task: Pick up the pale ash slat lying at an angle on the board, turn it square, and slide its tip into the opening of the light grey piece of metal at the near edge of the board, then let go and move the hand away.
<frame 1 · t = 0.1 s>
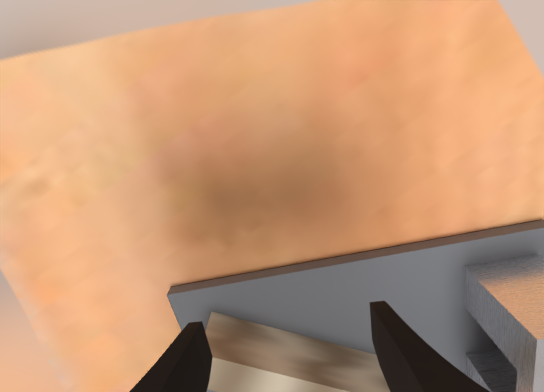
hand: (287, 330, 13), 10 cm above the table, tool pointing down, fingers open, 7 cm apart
board: (359, 336, 26), on the table
grey piece: (498, 325, 24), resting on board
slat: (313, 353, 25), point 1 cm above the table, touching board
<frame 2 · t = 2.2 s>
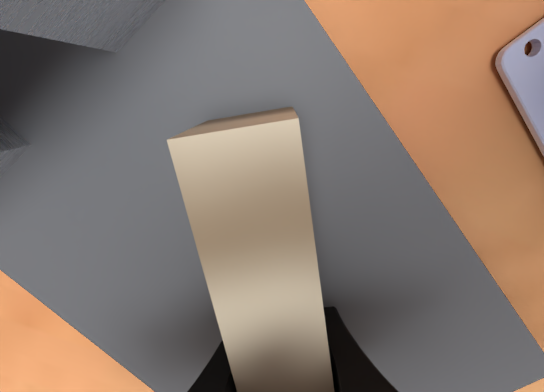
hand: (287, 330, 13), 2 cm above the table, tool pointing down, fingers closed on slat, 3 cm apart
board: (230, 246, 13), on the table
grey piece: (10, 38, 10), resting on board
slat: (287, 320, 13), point 1 cm above the table, touching board, gripper
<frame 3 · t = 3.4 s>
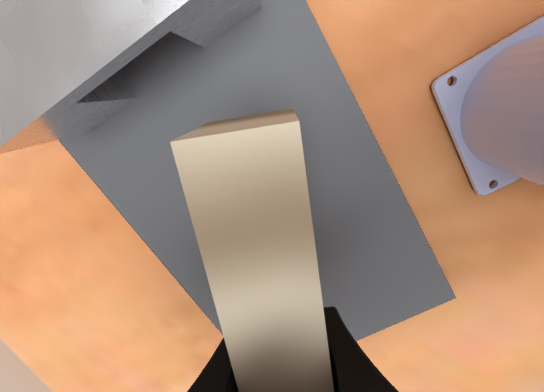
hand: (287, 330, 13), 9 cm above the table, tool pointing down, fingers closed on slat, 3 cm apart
board: (251, 186, 20), on the table
grey piece: (140, 30, 16), resting on board
slat: (287, 319, 14), point 8 cm above the table, touching gripper
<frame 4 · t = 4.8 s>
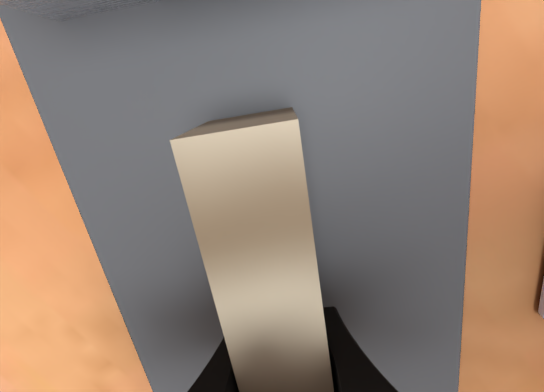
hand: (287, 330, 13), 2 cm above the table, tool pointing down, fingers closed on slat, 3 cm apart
board: (270, 201, 14), on the table
slat: (286, 317, 14), point 2 cm above the table, touching gripper
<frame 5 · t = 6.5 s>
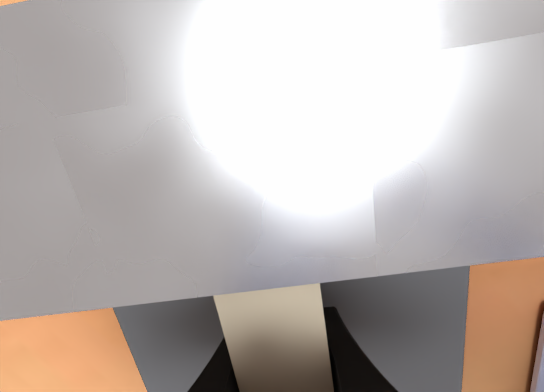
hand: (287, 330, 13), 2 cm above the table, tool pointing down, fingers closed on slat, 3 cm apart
board: (291, 325, 15), on the table
grey piece: (252, 117, 11), resting on board
slat: (287, 318, 14), point 1 cm above the table, touching gripper
when the fingers open (2 cm above the table, at t = 7.6 s): slat stays where it is, resting on board.
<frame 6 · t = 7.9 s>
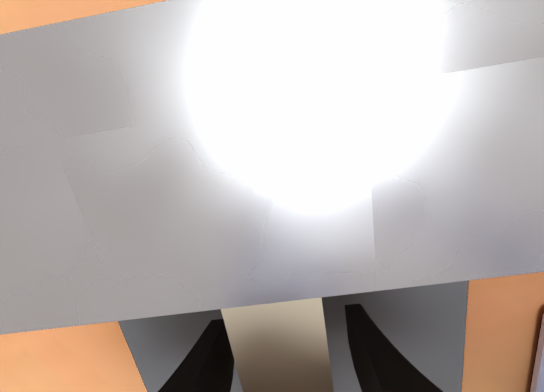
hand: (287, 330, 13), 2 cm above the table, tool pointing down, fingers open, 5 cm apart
board: (292, 329, 16), on the table
grey piece: (253, 126, 11), resting on board
slat: (287, 313, 14), point 1 cm above the table, touching board
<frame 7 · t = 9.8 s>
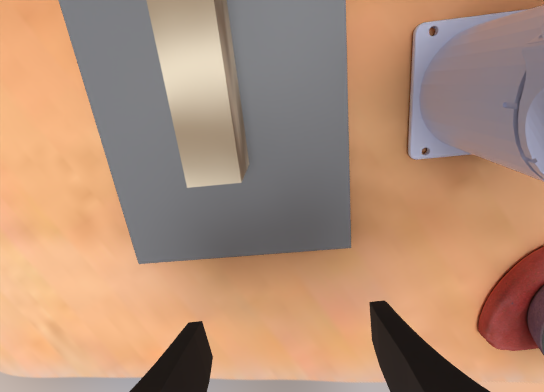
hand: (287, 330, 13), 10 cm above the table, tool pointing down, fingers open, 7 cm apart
board: (211, 50, 19), on the table
slat: (201, 11, 17), point 1 cm above the table, touching board
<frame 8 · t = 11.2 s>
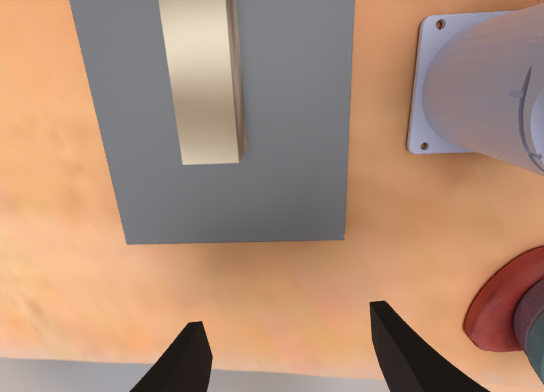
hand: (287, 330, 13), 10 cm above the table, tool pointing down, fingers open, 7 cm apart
stacking bear: (540, 294, 24), on the table
board: (216, 28, 18), on the table
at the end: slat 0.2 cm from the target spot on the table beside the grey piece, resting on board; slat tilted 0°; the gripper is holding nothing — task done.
